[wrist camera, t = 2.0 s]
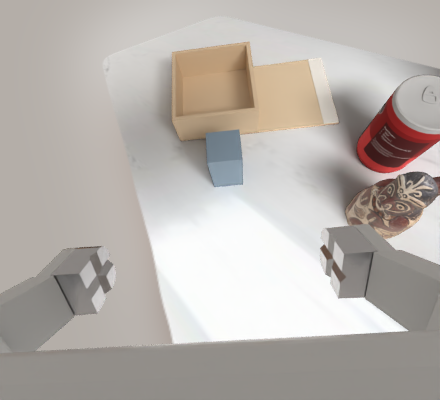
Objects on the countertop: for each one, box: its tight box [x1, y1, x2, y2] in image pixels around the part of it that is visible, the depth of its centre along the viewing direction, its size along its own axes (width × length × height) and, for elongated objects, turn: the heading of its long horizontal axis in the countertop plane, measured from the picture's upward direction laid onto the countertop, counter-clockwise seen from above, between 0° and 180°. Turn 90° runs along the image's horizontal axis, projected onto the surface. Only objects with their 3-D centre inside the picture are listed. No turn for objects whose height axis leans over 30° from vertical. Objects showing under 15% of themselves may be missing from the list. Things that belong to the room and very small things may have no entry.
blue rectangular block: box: [206, 129, 243, 187], centre depth 35 cm, size 4×4×8 cm
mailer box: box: [172, 42, 339, 141], centre depth 41 cm, size 26×14×6 cm, turn 94°
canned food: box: [357, 75, 440, 173], centre depth 33 cm, size 8×8×11 cm
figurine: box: [345, 172, 440, 239], centre depth 29 cm, size 7×7×12 cm
